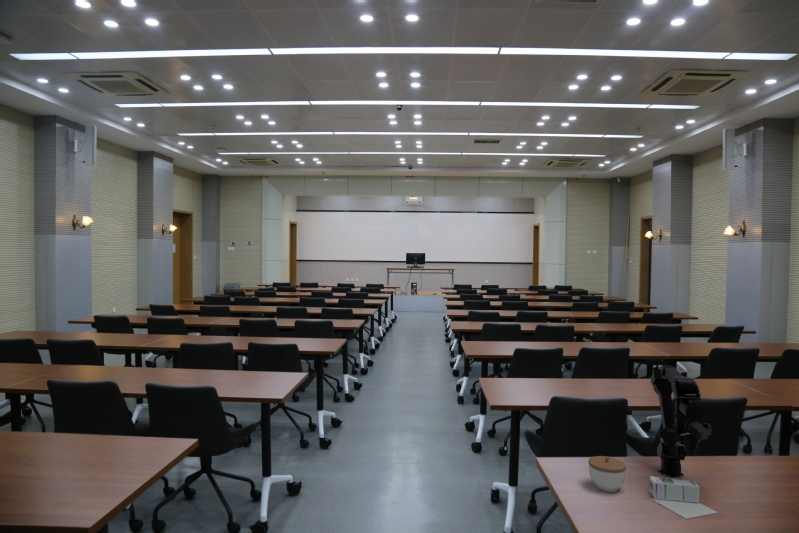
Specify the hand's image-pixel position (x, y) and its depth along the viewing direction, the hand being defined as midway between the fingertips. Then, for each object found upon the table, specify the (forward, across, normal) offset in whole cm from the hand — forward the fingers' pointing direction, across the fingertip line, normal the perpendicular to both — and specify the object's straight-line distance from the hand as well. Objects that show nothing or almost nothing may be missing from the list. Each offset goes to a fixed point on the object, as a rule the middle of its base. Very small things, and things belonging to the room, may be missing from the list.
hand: (684, 456), depth 178 cm
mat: (+12, -11, -9) cm, 19 cm away
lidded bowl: (+12, -25, +12) cm, 30 cm away
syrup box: (+9, -3, -8) cm, 12 cm away
